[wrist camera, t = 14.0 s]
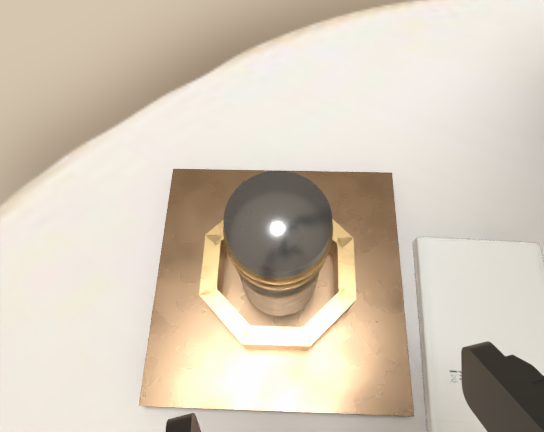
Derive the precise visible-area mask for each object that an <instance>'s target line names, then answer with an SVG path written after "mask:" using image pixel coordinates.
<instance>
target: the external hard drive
mask: <svg viewBox="0 0 544 432" xmlns="http://www.w3.org/2000/svg"><path fill="white" fill-rule="evenodd" d="M413 254H414V268H415V279H416V292H417V305H418V318H419V332H420V345H421V358H422V372H423V384H424V397H425V410H426V426H427V432H487V430H486V429H485V428H484V426H483V425H482V424H481V422H480V421H479V420H478V418H477V417H476V416H475V414H474V413H473V412H472V410H471V409H470V408H469V406H468V404H467V402H466V400H465V397H464V394H463V391H462V370H461V351H462V348H463V347H466V346H470V345H474V344H478V343H482V342H486V341H489V342H491V343H492V344H493V345H494V346H495V347H496V348H497V349H498V350H499V351H500V352H501V353H502V354H503V355H504V356H509V355H514V356H516V357H518V358H520V359H522V360H524V361H526V362H528V363H530V364H531V365H533V366H534V367H535V368H536V369H537V370H538V371H539V372H540V373H541V374H542V375H543V376H544V264H543V259H542V254H541V249H540V245H539V244H538V243H534V242H515V241H495V240H475V239H455V238H438V237H418V238H416V240H415V241H414V242H413Z"/></svg>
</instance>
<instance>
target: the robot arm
mask: <svg viewBox="0 0 544 432" xmlns="http://www.w3.org/2000/svg"><path fill="white" fill-rule="evenodd" d="M461 370H462V391H463V394H464V397H465V400H466V402H467V404H468V406H469V408H470V409H471V410H472V412H473V413H474V414H475V416H476V417H477V418H478V420H479V421H480V422H481V424H482V425H483V426H484V428H485V429H486V430H487V432H544V376H543V375H542V374H541V373H540V372H539V371H538V370H537V369H536V368H535V367H534V366H533V365H531V364H530V363H528V362H526V361H524V360H522V359H520V358H518V357H516V356H514V355H509V356H504V355H503V354H502V353H501V352H500V351H499V350H498V349H497V348H496V347H495V346H494V345H493V344H492V343H491V342H489V341H486V342H482V343H478V344H474V345H470V346H466V347H463V348H462V351H461ZM166 432H201V431H200V427H199V424H198V421H197V418H196V416H195V414H194V413H192V414H188V415H184V416H180V417H176V418H172V419H168V421H167V424H166Z"/></svg>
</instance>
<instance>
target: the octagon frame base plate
mask: <svg viewBox="0 0 544 432" xmlns="http://www.w3.org/2000/svg"><path fill="white" fill-rule="evenodd" d="M264 172H270V171H263V170H205V169H173V174H172V181H171V188H170V195H169V202H168V209H167V216H166V222H165V229H164V236H163V243H162V250H161V257H160V264H159V270H158V277H157V284H156V291H155V298H154V305H153V312H152V318H151V325H150V332H149V339H148V346H147V353H146V360H145V367H144V373H143V380H142V387H141V394H140V401H139V406H154V407H181V408H208V409H235V410H262V411H288V412H315V413H342V414H369V415H395V416H414V411H413V400H412V389H411V378H410V367H409V356H408V345H407V334H406V323H405V312H404V301H403V290H402V279H401V268H400V257H399V246H398V235H397V224H396V213H395V202H394V191H393V180H392V173H379V172H321V171H287V172H292V173H296V174H299V175H301V176H303V177H305V178H307V179H309V180H310V181H312V182H313V183H314V184H316V185H317V186H318V187H319V188H320V189H321V191H322V192H323V193H324V195H325V196H326V198H327V200H328V202H329V205H330V208H331V211H332V222H333V238H332V243H331V246H330V249H329V253H328V256H327V259H326V261H325V263H324V265H323V267H322V268H321V270H320V273H319V277H318V280H317V284H316V287H315V291H314V294H313V296H312V298H311V299H310V301H309V302H308V303H307V304H306V305H305V306H304V307H303V308H302V309H301V310H299V311H297V312H295V313H293V314H290V315H285V316H274V315H269V314H266V313H264V312H262V311H260V310H259V309H257V308H256V307H255V306H254V305H253V304H252V303H251V302H250V301H249V299H248V298H247V296H246V293H245V291H244V288H243V285H242V282H241V279H240V276H239V273H238V271H237V270H236V268H235V267H234V265H233V263H232V261H231V259H230V256H229V253H228V251H227V248H226V245H225V241H224V235H223V226H224V219H223V218H224V211H225V208H226V205H227V202H228V200H229V198H230V197H231V195H232V193H233V192H234V191H235V190H236V189H237V188H238V187H239V186H240V185H241V184H242V183H243V182H245V181H246V180H248V179H249V178H251V177H253V176H255V175H258V174H261V173H264Z"/></svg>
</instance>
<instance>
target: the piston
mask: <svg viewBox="0 0 544 432" xmlns="http://www.w3.org/2000/svg"><path fill="white" fill-rule="evenodd" d="M223 219H224V226H223V235H224V241H225V245H226V248H227V251H228V253H229V256H230V259H231V261H232V263H233V265H234V267H235V268H236V270H237V271H238V273H239V276H240V279H241V282H242V285H243V288H244V291H245V293H246V296H247V298H248V299H249V301H250V302H251V303H252V304H253V305H254V306H255V307H256V308H257V309H259V310H260V311H262V312H264V313H266V314H269V315H274V316H285V315H290V314H293V313H295V312H297V311H299V310H301V309H302V308H303V307H304V306H305V305H306V304H307V303H308V302H309V301H310V299H311V298H312V296H313V294H314V291H315V287H316V284H317V280H318V277H319V273H320V270H321V268H322V267H323V265H324V263H325V261H326V259H327V256H328V253H329V249H330V246H331V243H332V238H333V222H332V211H331V208H330V205H329V202H328V200H327V198H326V196H325V195H324V193H323V192H322V191H321V189H320V188H319V187H318V186H317V185H316V184H314V183H313V182H312V181H310V180H309V179H307V178H305V177H303V176H301V175H299V174H296V173H292V172H287V171H270V172H264V173H261V174H258V175H255V176H253V177H251V178H249V179H248V180H246V181H245V182H243V183H242V184H241V185H240V186H239V187H238V188H237V189H236V190H235V191H234V192H233V193H232V195H231V197H230V198H229V200H228V202H227V205H226V208H225V211H224V218H223Z"/></svg>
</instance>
